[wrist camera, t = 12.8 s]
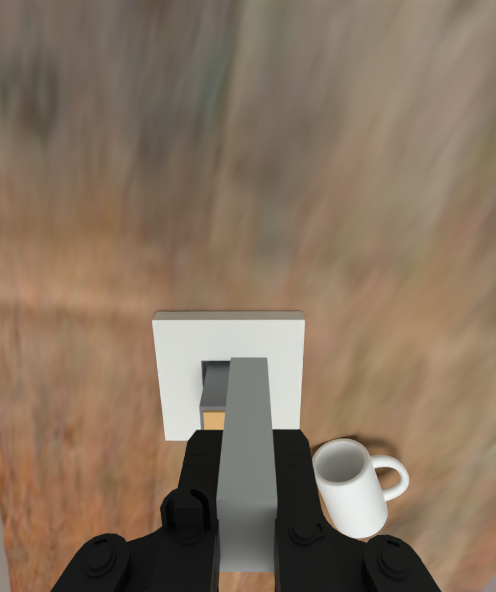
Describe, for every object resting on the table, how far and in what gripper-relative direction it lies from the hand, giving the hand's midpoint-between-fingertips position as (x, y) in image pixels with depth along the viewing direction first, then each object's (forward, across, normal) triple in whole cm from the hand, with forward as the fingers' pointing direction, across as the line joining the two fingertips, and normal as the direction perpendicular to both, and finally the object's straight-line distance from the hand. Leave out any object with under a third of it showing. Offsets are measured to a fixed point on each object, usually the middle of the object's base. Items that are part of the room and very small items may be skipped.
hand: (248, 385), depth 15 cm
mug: (+29, +16, -34) cm, 47 cm away
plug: (+28, -2, -19) cm, 34 cm away
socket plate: (+29, -3, -19) cm, 34 cm away
